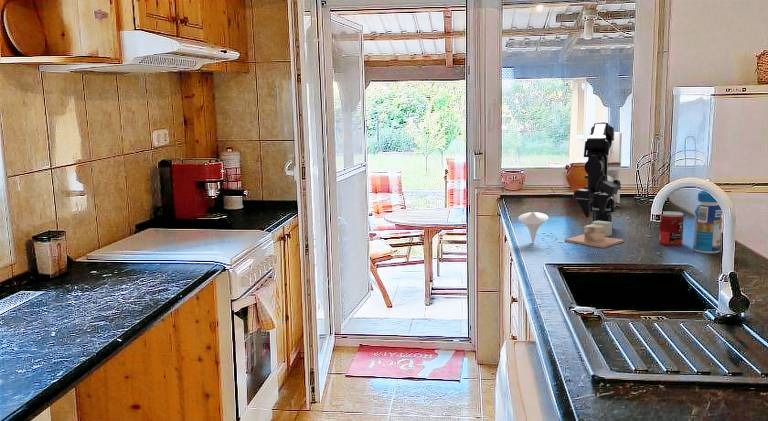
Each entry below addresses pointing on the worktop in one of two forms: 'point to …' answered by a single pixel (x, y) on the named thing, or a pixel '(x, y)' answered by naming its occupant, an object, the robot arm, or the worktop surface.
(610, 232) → the sage block
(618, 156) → the tall white pillar
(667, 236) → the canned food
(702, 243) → the beverage bottle
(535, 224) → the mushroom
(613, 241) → the terracotta tile
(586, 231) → the beech block
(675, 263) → the worktop surface
